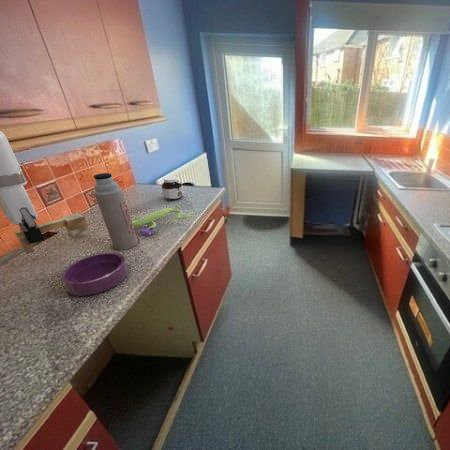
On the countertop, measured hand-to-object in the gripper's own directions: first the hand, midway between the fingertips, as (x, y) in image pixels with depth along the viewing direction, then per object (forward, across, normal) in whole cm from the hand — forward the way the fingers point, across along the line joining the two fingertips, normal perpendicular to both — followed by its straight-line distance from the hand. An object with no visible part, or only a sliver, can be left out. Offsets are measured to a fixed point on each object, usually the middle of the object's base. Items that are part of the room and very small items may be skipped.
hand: (35, 239), depth 73 cm
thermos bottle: (+14, -2, +23) cm, 27 cm away
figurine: (+13, -7, +41) cm, 44 cm away
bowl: (+14, +13, +8) cm, 20 cm away
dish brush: (+3, 0, +5) cm, 6 cm away
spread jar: (+13, -32, +63) cm, 72 cm away
